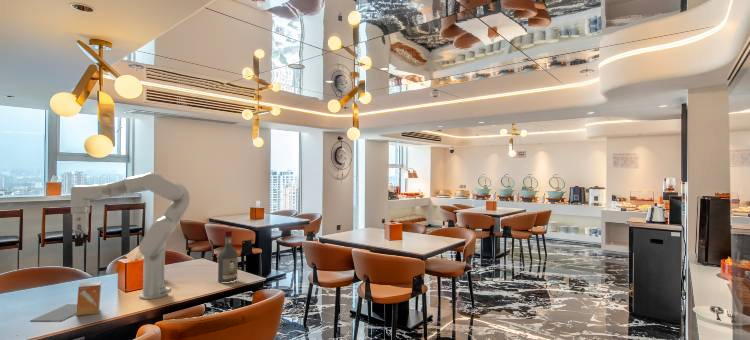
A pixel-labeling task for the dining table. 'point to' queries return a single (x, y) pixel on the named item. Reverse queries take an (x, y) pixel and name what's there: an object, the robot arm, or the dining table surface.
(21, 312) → the dining table surface
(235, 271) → the liquor
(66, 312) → the mat
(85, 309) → the small box
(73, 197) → the robot arm
